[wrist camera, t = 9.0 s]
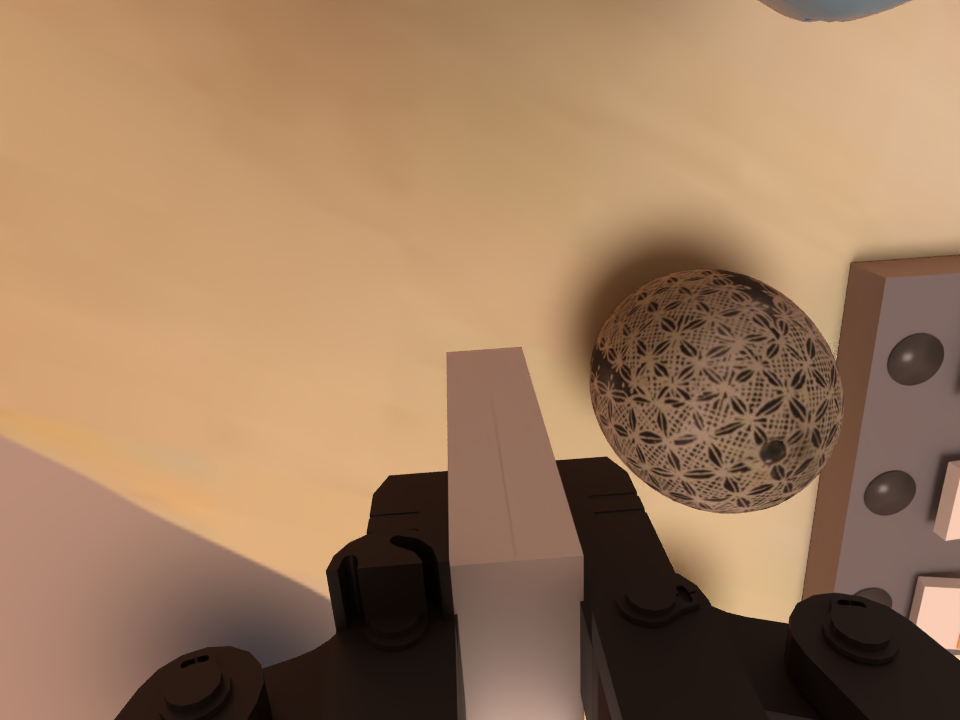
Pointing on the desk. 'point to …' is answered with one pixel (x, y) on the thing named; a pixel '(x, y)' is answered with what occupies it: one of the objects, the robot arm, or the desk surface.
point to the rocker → (938, 609)
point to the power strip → (891, 435)
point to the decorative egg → (716, 391)
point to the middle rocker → (949, 505)
